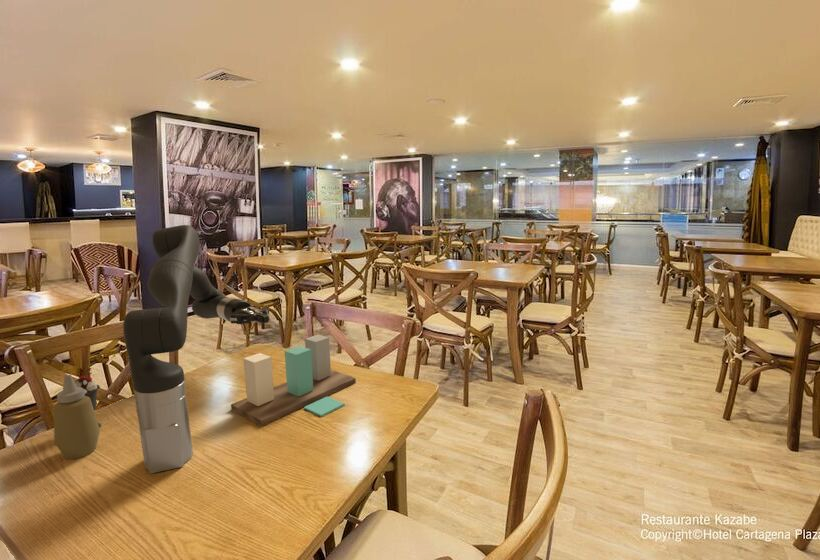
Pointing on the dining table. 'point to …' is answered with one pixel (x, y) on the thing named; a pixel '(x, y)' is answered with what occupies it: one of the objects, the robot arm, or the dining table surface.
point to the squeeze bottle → (74, 421)
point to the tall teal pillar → (299, 370)
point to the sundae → (88, 388)
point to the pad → (324, 406)
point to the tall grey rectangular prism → (319, 356)
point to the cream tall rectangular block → (258, 379)
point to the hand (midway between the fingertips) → (266, 319)
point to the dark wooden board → (291, 399)
